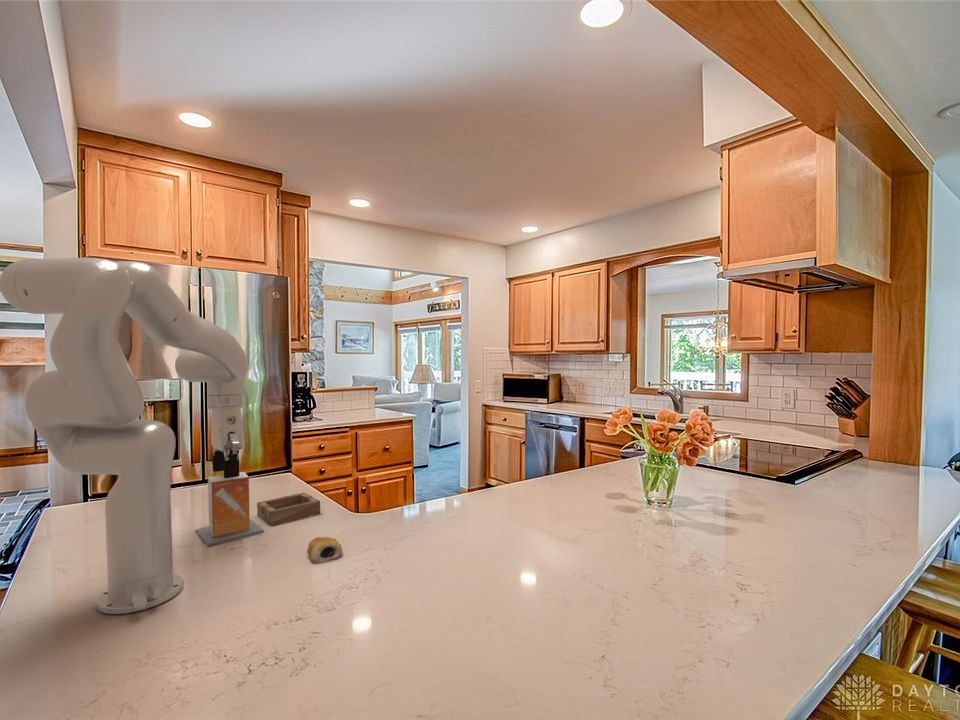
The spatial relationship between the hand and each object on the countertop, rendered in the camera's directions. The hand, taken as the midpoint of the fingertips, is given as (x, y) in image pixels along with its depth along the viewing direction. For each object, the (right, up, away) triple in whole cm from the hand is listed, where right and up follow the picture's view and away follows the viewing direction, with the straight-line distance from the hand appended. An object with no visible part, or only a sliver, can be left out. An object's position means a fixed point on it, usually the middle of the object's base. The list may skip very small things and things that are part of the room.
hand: (225, 473), depth 114 cm
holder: (+10, -14, +13) cm, 21 cm away
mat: (0, -14, +1) cm, 14 cm away
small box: (0, -14, +1) cm, 14 cm away
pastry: (+27, -15, -12) cm, 33 cm away
